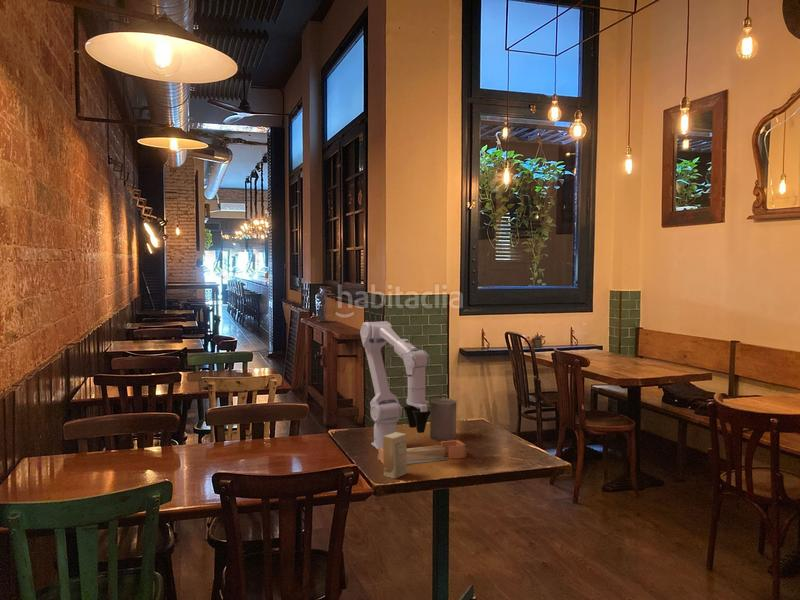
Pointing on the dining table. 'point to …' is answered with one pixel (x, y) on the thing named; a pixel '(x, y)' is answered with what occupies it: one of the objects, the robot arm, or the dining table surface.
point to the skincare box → (395, 455)
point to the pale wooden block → (425, 453)
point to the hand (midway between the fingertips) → (416, 429)
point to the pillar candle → (443, 419)
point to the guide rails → (425, 460)
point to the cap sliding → (380, 454)
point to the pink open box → (454, 448)
